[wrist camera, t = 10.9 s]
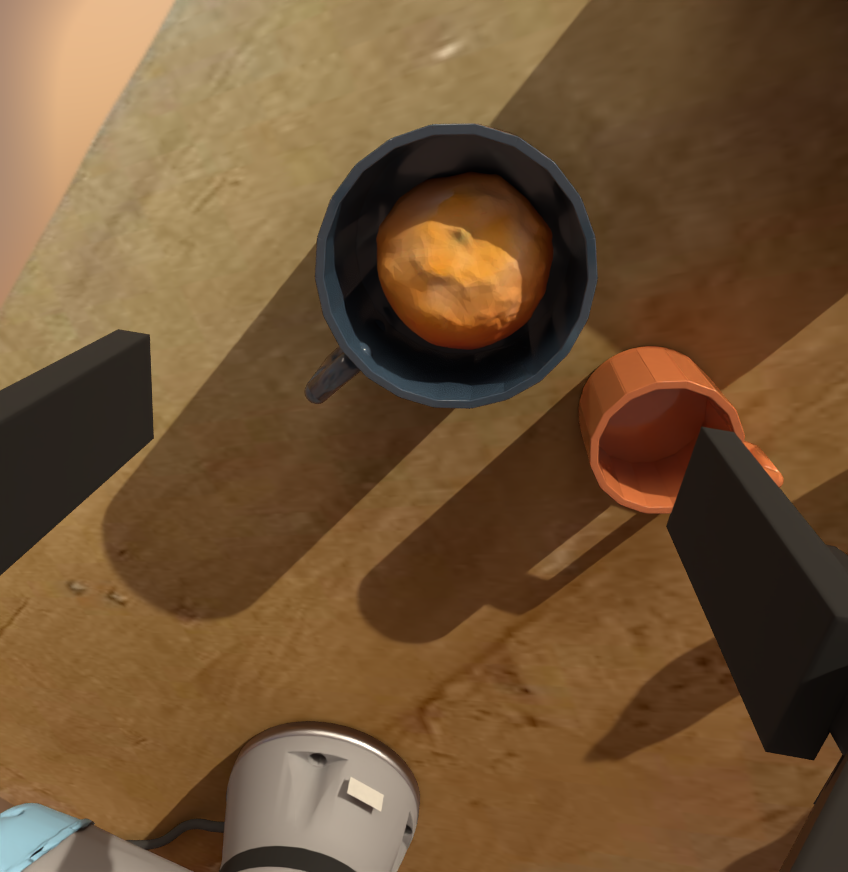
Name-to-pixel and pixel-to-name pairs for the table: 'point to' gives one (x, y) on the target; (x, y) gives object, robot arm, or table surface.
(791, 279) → the table surface
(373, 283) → the big cup
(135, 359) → the robot arm
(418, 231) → the fruit
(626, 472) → the small cup
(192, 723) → the table surface
